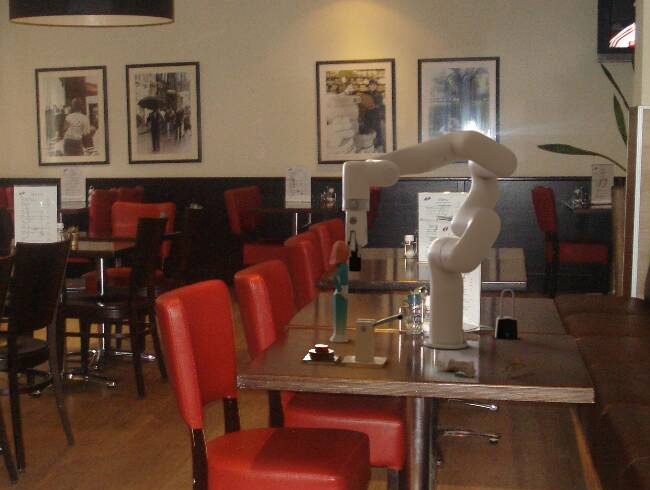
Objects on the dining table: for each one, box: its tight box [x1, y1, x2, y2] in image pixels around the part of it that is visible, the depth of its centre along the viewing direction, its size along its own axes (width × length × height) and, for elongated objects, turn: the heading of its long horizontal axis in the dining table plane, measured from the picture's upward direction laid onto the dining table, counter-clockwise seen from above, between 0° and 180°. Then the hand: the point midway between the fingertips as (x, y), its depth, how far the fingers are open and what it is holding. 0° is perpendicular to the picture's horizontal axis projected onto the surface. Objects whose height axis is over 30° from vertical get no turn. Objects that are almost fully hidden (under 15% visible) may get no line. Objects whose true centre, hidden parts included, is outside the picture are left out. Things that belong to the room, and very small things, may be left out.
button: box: [314, 344, 330, 352], centre depth 281 cm, size 4×4×2 cm
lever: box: [368, 311, 406, 327], centre depth 276 cm, size 12×5×2 cm, turn 74°
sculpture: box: [328, 240, 350, 343], centre depth 311 cm, size 13×7×30 cm, turn 168°
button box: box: [302, 348, 342, 363], centre depth 281 cm, size 9×8×3 cm
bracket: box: [341, 318, 388, 366], centre depth 277 cm, size 11×9×12 cm
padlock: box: [494, 288, 520, 340], centre depth 316 cm, size 7×4×15 cm, turn 80°
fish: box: [501, 356, 533, 378], centre depth 262 cm, size 12×2×5 cm, turn 126°
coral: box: [434, 358, 477, 378], centre depth 265 cm, size 6×10×4 cm, turn 61°
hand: (355, 271), depth 291 cm, fingers closed
